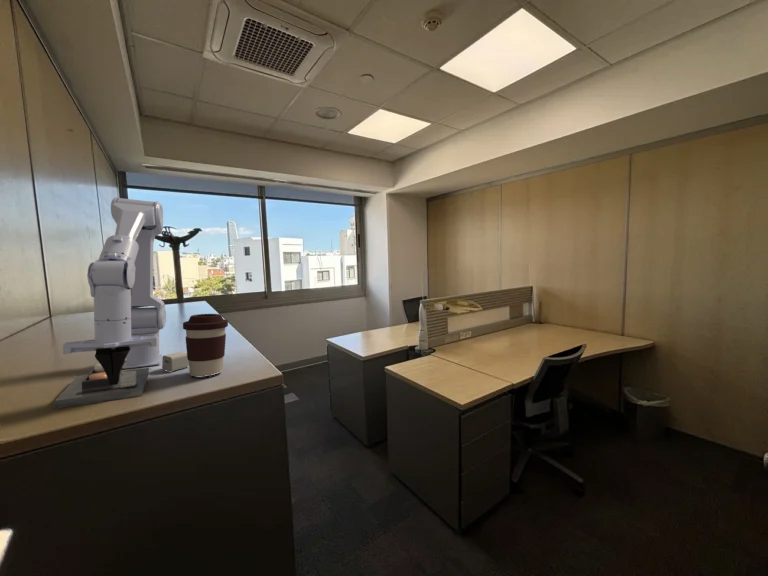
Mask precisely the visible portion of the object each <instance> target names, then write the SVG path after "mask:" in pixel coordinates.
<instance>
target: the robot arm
mask: <svg viewBox="0 0 768 576" xmlns="http://www.w3.org/2000/svg"><path fill="white" fill-rule="evenodd" d="M163 209H164V208H163V205H162V203H160V201H158V200H157V201H150V200H141V199H131V198H123V197H122V198H121V197H118V196H115V197H114V198H112V200H111V202H110V214H111V217H112V219H113V221H114V222H115V223H116V227H115V228H116V229H115V232H114V235H111V236H109V237H107V238H106V240H105V242H104V244H103V248H102V250H101V253H100V255H99V257H98V259H96V260H95V261H94V262H90V263H89V265H88V267H87V274H86V275H87V276H86V277H87V282H88V286H89V288H90V289H89V290H90V293H89V294H90V296H91V297H92V298H93V315H94V316H93V318H94V319H93V321H94V323H93V326H94V328H93V329H94V339H86V340H79V341H78V340H77V341H67V342H65V343H63V344H62V353H63V355H68V354H69V355H70V354H73V353H83V352H95V354H94V358H95V359H96V360H97V362H98V363H100V364H101V366H102V367H103V369H104V371H105V373H106V375H107V378H108V381H109V385H117V384H118V382H119V376H120V372H121V371H122V369H123V370H124V369H133V368H141V367H142V368H143V367H144V368H145V367H150V366H160V365H161V364H162V357H163V354H160V330H163V329H164V328H165V326H166V323H167V311H166V305H165V302H164V301H163V300H161V299H160V298H159V297H157V296H155V295H154V242H155V238H156V236H158V235H161V234H163V229H164V210H163Z"/></svg>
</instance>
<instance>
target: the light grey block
mask: <svg viewBox="0 0 768 576" xmlns="http://www.w3.org/2000/svg"><path fill="white" fill-rule="evenodd" d="M120 379H121V387H127V386H134V385H136V382H137V379H136V371H128V372H122V373H121V375H120Z"/></svg>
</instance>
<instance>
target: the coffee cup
mask: <svg viewBox="0 0 768 576" xmlns="http://www.w3.org/2000/svg"><path fill="white" fill-rule="evenodd" d="M228 326H229V320H228V319H224V317H223V316H222V314H220V313H200V314H193V315H191V316H189V319H188V320H186V321H183V322H182V329H183V330H185V332H186V333H185V347H186V353H187V359H188V360H189V367H188V369H189V371H188V372H189V375H190V377H192V376H205V375H211V374H214V373H217V372H220V371H221V370H222V369H224V368H223V367H224V366H223V365H224V357H225V355H226V353H225V350H226V339H227V333H226V328H227V327H228ZM222 371H223V370H222Z"/></svg>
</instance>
